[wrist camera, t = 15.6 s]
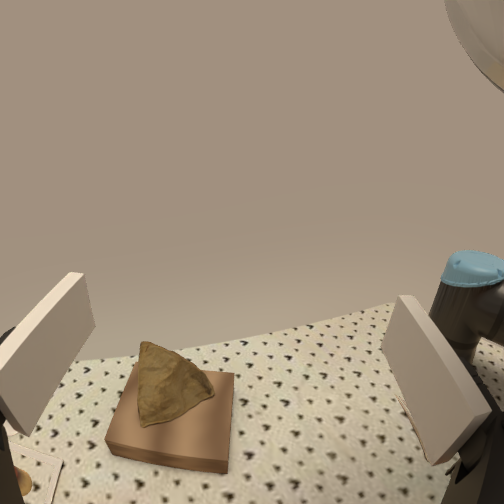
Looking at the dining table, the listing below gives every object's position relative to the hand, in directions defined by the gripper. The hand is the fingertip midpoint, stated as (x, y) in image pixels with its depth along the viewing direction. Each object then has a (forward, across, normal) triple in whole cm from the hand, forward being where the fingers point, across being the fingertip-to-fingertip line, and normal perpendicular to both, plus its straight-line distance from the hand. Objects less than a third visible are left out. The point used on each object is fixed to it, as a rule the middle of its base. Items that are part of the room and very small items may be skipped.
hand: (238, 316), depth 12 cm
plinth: (+15, -8, -30) cm, 34 cm away
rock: (+15, -8, -26) cm, 31 cm away
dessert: (-3, -27, -31) cm, 41 cm away
